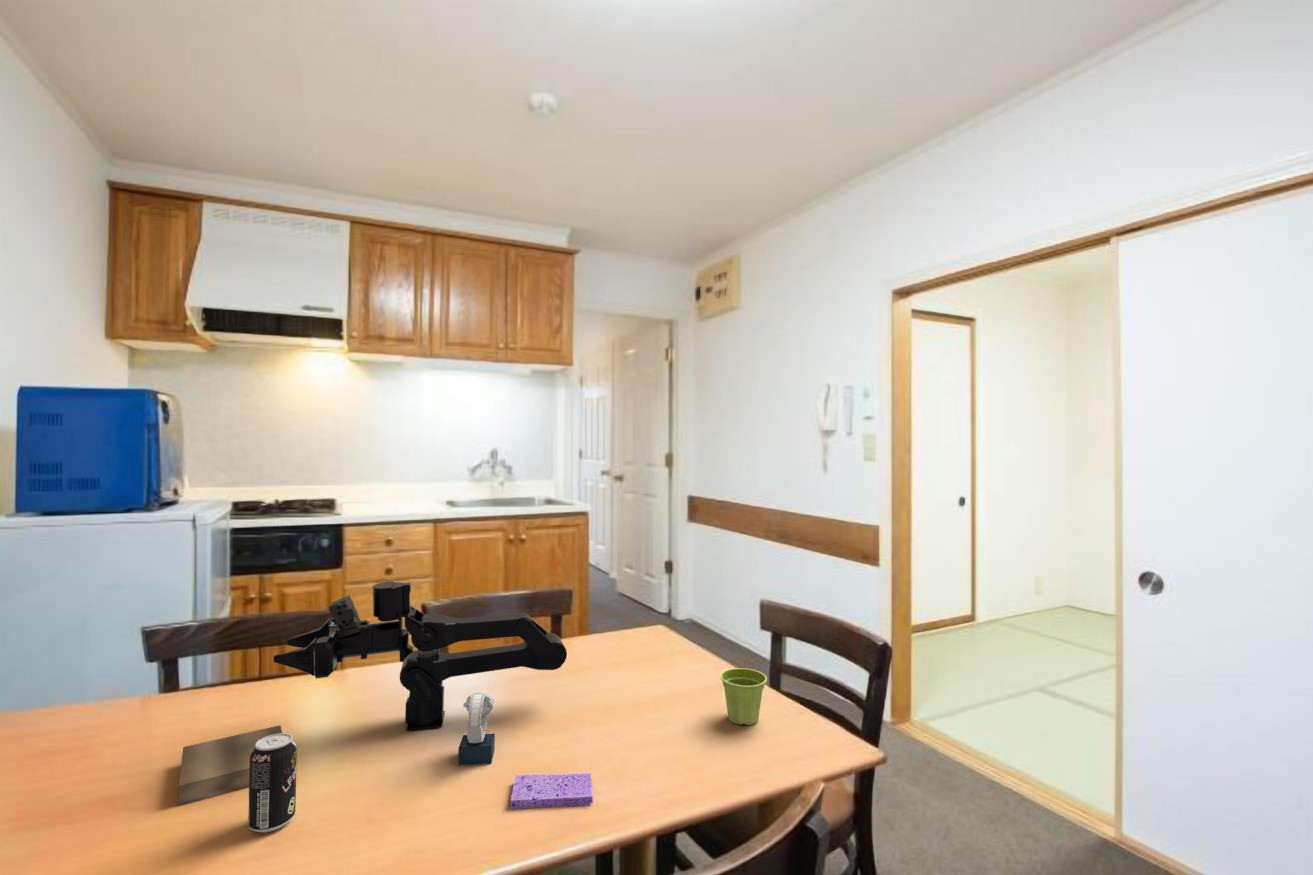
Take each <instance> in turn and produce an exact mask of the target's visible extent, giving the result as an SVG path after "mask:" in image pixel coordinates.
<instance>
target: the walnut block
mask: <svg viewBox="0 0 1313 875" xmlns="http://www.w3.org/2000/svg"><path fill="white" fill-rule="evenodd" d="M279 733H283V732H282V726H281V724H280V725H274V726H271V727H266V728H262V729H256V730H252V731H249V732H244V733H239V734H236V735H231V736H226V737H221V738H217V739H212V740H208V741H204V742H200V743H195V744H191V745H187V746H186V745H185V746H182V753H181V762H180V763H181V764H180V769H179V770H180V772H179V779H178V780H179V781H178V786H177V787H178V788H177V789H178V791H177V793H178V795H177V796H178V797H177V805H178V806H177V807H180V806H183V805H187V804H190V803H194V802H198V801H202V800H204V799H205V800H206V799H209V798H212V797H216V796H220V795H223V794H228V793H232V792H235V791H239V790H243V789H247V788H249V770H250V756H251V753H252V752H253V750H254V749H255V744H256V742H257V741H259V740H260V739H262V738H264V737H266V736H269V735H273V734H279Z"/></svg>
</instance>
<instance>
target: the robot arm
mask: <svg viewBox="0 0 1313 875" xmlns="http://www.w3.org/2000/svg"><path fill="white" fill-rule="evenodd" d="M411 590H412V583H411V582H401V581H394V580H392V581H384V582H383V581H382V582H379V583H376V584H373V585H372V610H373V611H372V612H373V614H372V615H373V617H375V618H377V620H378V621H380V622H377V623H370V621H369V620H368V619H364V620H361V619H360V617H359V613H358V610H357V609H356V607H355V604H354V601H353V600H352V598H351V595H349V594H348V595H346V596H344V597H341V598H340V599H337V600H335V601H332V602H331V604H330V605H329V606H328V612H329V614H330V615H331V616H332V617H330V618H329V619H327V621H326V622H324V624H323V625H322V626H320V628H319V627H318V628H317V629H314V630H310V631H309V632H305V633H302V634H298V635H296V636H294V637H291V638H288V639H287V641H286V642H287V646H289V647H296V649H293V650H290V651H285V652H282V653H278V654H274V656H273V662H274V663H275V664H276V663H277V664H279V665H283V666H286V667H288V668H292V669H296V670H299V671H302V672H304V673H307V674H310V675H311V676H313V677H315V679H324V678H328V677H330V675H331V674H332V673H333V672H334V671H335V669H336V667H337V665H338V663H343V662H344V660H345V659H349V658H357V657H360V660H366V659H368V656H371V655H378V654H387V653H395V652H399V662H400V663H402V664H401V669H400V672H399V682H400V684H401V685H402V687H403V688H405V689H406V690H407V691H408V692H409V694H408V697H407V698H406V701H405V710H404V711H405V714H404V715H405V718H404V719H405V720H404V721H405V724H407V725H406V731H408V732H409V731H417V730H426V729H436V728H437V729H438V728H442V727H443V724H444V719H445V715H446V712H445V705H444V704H445V685H443V682H444V681H445V680H447V679H449V678H453V677H459V676H467V675H474V674H480V673H481V674H482V673H486V672H494V671H500V670H501V671H502V670H509V669H516V668H520V667H521V668H528V669H531V670H535V671H536V670H537V671H555V670H558V669H560V668H562V666H563V664H565V663H566V660H567V656H568V652H567V648H566V647H565V645H564V643H563V641H562V640H561V638H560V636H558V635H557V634H556V633H554V632H548V631H546V630H545V629H544V628H543V627H542V626H541V625H540V624H539V623H537V622H536V621H535V620H533V619H532V618H531V616H530V615H529V614H528V613H526V612H520V613H515V614H505V615H491V616H479V617H478V616H477V617H465V618H461V617H459V618H458V617H454V616H450V615H445V614H437V613H436V614H435V613H424V612H422V611H420V610H418V609H417V608H415V607H413V606H411ZM403 619H404V620H403ZM409 634H410V635H411V636H410V637H409ZM511 637H518V638H520V639H522V641H523V642H521V643H518V644H512V645H511V644H510V645H504V646H495V647H490V648H488V647H487V648H482V649H481V648H480V649H474V650H473V649H472V650H465V651H458V652H450V653H448V652H444V651H440V650H441V649H443V648H446V647H448V646H451V645H453V644H456V643H459V642H466V641H478V640H489V639H500V638H511ZM409 639H411V644H412V645H413V646H412V645H410V641H409ZM414 647H415V649H416V650H414Z"/></svg>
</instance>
